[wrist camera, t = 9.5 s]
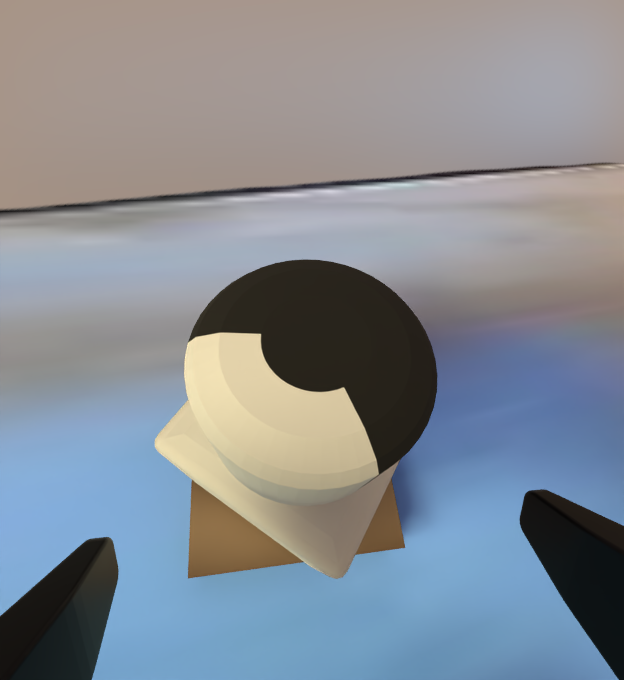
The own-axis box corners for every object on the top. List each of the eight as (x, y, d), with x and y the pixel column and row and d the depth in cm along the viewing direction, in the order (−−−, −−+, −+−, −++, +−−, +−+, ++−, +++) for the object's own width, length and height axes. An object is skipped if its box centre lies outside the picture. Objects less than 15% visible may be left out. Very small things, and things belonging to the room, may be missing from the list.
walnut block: (387, 545, 20) (405, 547, 17) (199, 571, 18) (187, 578, 16) (356, 376, 24) (367, 357, 22) (204, 386, 23) (196, 368, 20)
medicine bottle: (276, 369, 21) (276, 191, 10) (385, 437, 19) (513, 308, 9) (192, 480, 17) (69, 379, 7) (317, 571, 16) (393, 614, 6)
